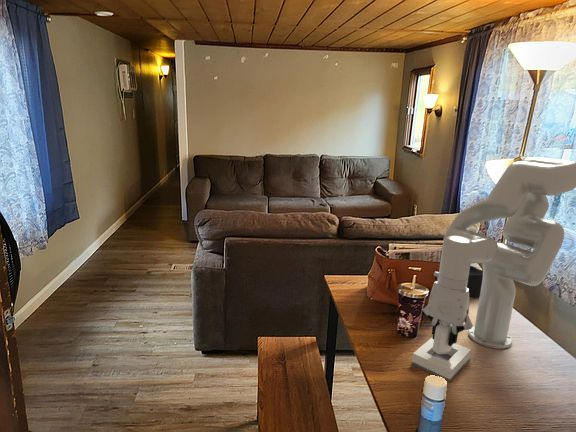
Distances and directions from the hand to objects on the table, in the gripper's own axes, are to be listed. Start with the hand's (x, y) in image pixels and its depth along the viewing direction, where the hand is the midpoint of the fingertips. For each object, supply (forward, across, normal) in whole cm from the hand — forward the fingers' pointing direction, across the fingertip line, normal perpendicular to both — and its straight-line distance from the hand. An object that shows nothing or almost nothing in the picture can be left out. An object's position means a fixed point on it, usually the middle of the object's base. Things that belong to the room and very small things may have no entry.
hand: (443, 340), depth 118 cm
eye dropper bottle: (+3, 0, 0) cm, 3 cm away
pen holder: (+7, -11, +53) cm, 55 cm away
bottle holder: (+7, 0, 0) cm, 7 cm away
